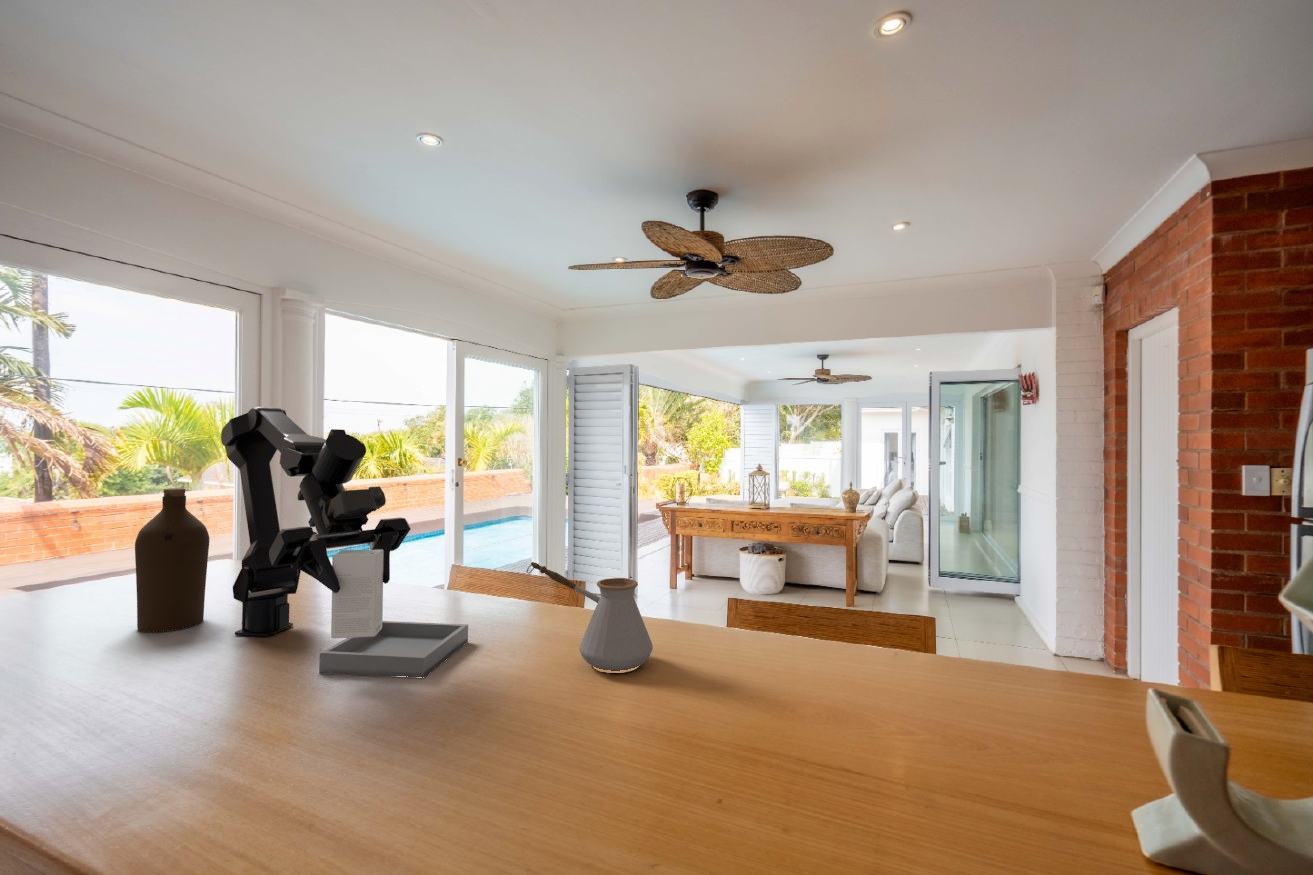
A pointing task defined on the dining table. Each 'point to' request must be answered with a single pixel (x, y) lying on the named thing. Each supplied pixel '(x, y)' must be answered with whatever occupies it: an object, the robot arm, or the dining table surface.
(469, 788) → the dining table surface
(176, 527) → the olive oil
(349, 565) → the skincare box
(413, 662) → the tray
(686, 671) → the dining table surface
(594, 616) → the coffee pot
